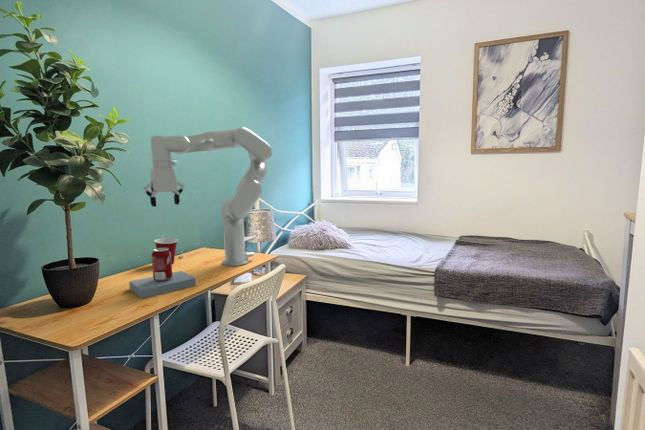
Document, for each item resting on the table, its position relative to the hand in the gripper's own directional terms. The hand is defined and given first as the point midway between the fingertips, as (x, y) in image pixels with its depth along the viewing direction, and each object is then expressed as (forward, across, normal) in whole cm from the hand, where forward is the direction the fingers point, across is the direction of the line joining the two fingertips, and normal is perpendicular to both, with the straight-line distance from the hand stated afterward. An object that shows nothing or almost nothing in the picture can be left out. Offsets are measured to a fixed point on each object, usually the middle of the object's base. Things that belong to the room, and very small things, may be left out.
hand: (165, 205), depth 155 cm
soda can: (+27, +10, +18) cm, 34 cm away
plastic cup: (+30, -4, -15) cm, 34 cm away
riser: (+30, +10, +19) cm, 37 cm away
